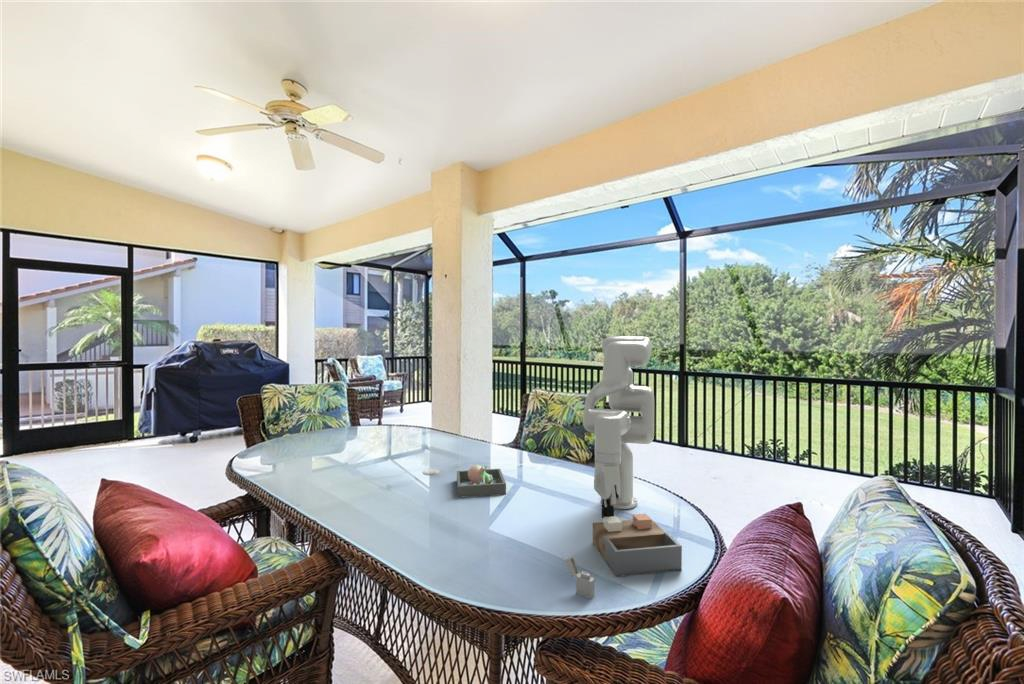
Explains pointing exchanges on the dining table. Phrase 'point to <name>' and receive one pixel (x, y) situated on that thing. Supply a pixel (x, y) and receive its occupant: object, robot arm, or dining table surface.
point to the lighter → (581, 579)
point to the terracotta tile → (642, 521)
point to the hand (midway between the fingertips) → (607, 518)
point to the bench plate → (627, 536)
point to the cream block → (612, 523)
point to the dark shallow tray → (481, 488)
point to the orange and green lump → (479, 475)
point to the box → (644, 558)
